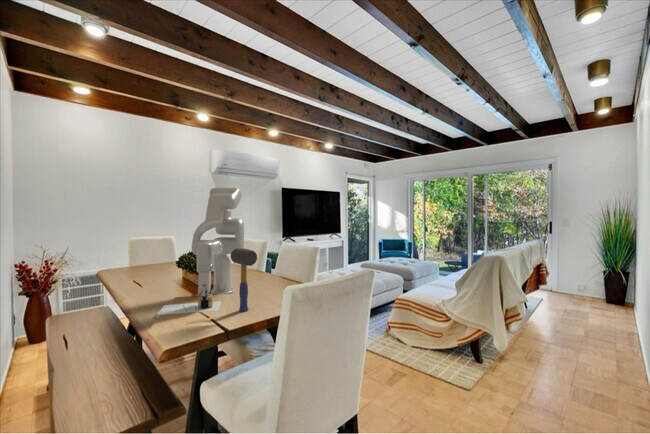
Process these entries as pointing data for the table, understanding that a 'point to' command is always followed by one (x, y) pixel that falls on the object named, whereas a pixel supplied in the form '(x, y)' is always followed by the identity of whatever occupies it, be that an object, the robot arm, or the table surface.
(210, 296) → the sanding block
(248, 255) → the rubber mallet
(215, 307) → the board
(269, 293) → the table surface
